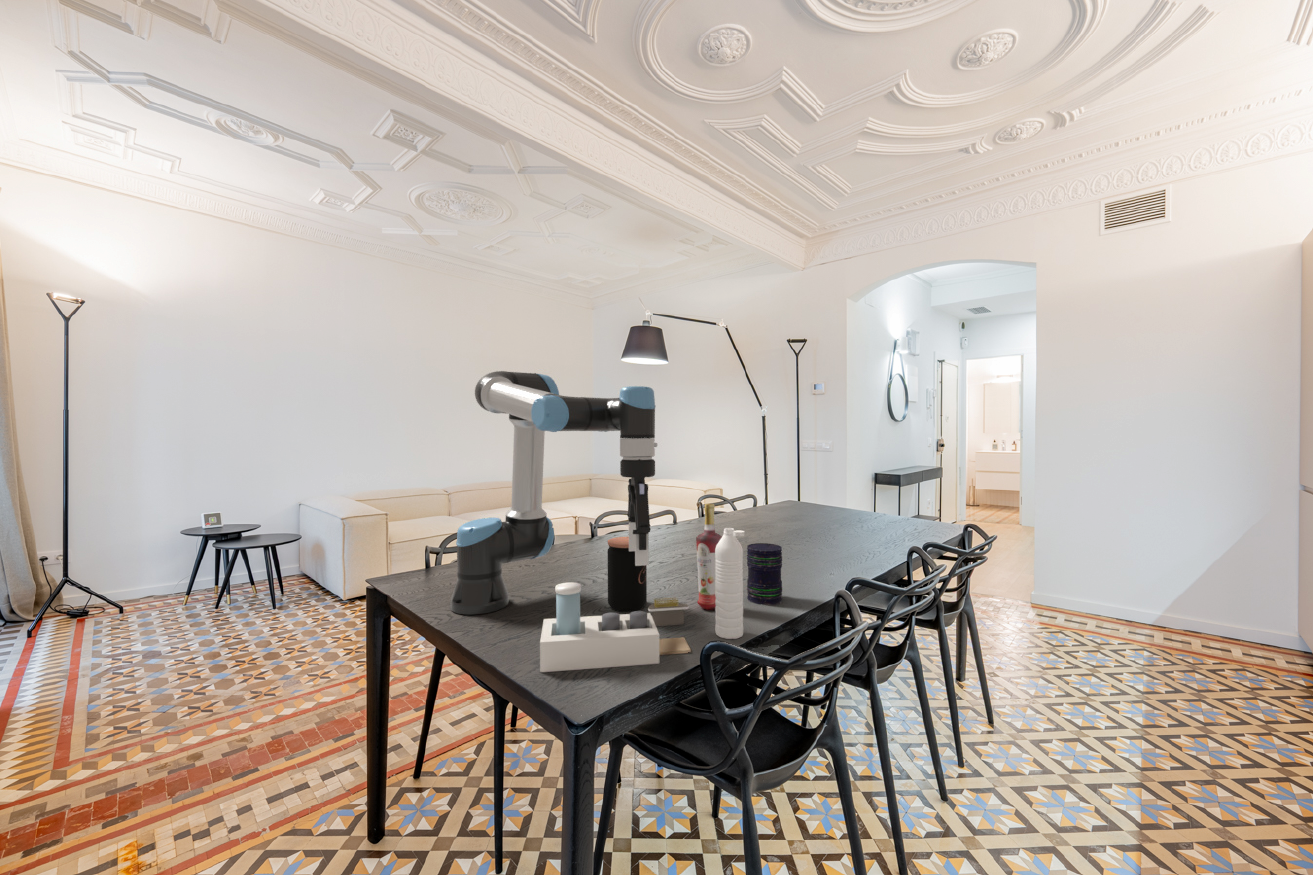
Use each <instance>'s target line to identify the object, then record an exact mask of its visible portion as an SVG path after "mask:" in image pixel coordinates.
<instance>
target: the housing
mask: <svg viewBox="0 0 1313 875" xmlns="http://www.w3.org/2000/svg"><path fill="white" fill-rule="evenodd" d="M646 613H647V628H642V629H630V613H626V614H622V613H621V614H619V615H620V630H611V631H602V615H591V616H588V615H587V616H580V634H571V635H557V628H556V617H555V618H543V622H542V629H541V632H540V633H541V635H540V640H539V672H540V673H548V672H549V673H550V672H561V671H562V672H563V671H577V670H588V669H589V670H591V669H592V670H593V669H605V668H615V667H617V668H618V667H630V666H643V665H644V666H645V665H656V664H658V665H659V664H660V655H659V639H660V633H659V630H658V628H657V626H656V625H655V623H654V621H653V618H652V612H646Z"/></svg>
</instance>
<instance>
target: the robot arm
mask: <svg viewBox="0 0 1313 875" xmlns="http://www.w3.org/2000/svg"><path fill="white" fill-rule="evenodd" d="M474 396H475V397H474V398H475V400H476V403H477V404H478V405H479V406H480V407H481V409H483V410H485V411H487V412H490V413H492V414H508V420H509V422H510V423H511V424H512V425H513V446H512V447H513V452H512V453H513V455H512V475H511V476H512V478H511V479H512V480H511V482H512V483H511V507H510V509H509V510H507V512H505V519H504V521H502V519H501V518H499V517H486V518H485V517H484V518H478V519H473V520H470V521H467V522H465V523H463V524H461V525H460V526H459V527H458V529H457V531H456V532H457V535H456V536H457V538H456V571H457V572H456V574H457V575H456V578H457V580H456V583H455V586H454V589H453V592H452V595H451V598H450V610H451V612H453V613H455V614H460V615H467V616H468V615H470V616H471V615H482V614H488V613H489V614H490V613H493V612H496V611H499V610H501V609H504V608H506V607H507V606H508V605H509V603H510V602H509V599H510V598H509V592H508V589H507V586H506V584H505V581H504V578H503V571H502V570H503V567H502V566H503V564H504V565H505V564H509V563H515V562H516V563H517V562H520V561H527V560H534V559H536V558H540V557H543V556H546V555H547V554H548V553H549V552H550V550H551V548H552V546H553V544H554V540H555V539H554V538H555V529H554V526H553V525H554V524H553V522H552V520H551V519H550V518H549V517H548V516H547V512H546V511H545V509H543V483H544V481H543V480H544V478H543V477H544V457H545V454H544V453H545V435H546V434H545V432H552V433H557V432H602V433H603V432H605V433H606V432H618V431H620V434H619V436H620V438H619V456H620V457H621V458H622V459H621V460H620V461H619V462H620V467H619V468H620V469H619V470H620V476H621V477H623V478H628V485H627V493H628V502H627V503H628V504H627V518H628V519H627V520H628V537H629V551H635V565H636V566H642V565H647V566H649V564H650V556H649V554H650V550H649V549H650V548H649V546H650V544H649V543H650V542H649V540H650V539H649V535H650V532H651V531H652V530H651V525H650V509H649V508H650V504H649V484H648V483H646V480H645V478H651V477H652V478H653V477H654V476H655V475H656V460H655V459H653V457H655V455H656V454H655V453H656V448H658V443H657V442H655V438H656V437H655V436H656V435H655V434H656V430H655V429H656V398H655V391H654V389H653V388H652V387H650V386H645V385H644V386H641V385H640V386H639V385H638V386H637V385H635V386H623V387H622V388H620V390H619V397H611V398H609V397H608V398H607V397H604V398H603V397H590V396H589V397H586V396H584V397H583V396H581V397H579V396H568V395H561V394H560V392H559V387H558V385H557V383H556V382H555V380H554V379H553V378H552V376H551V377H550V376H549V375H547V374H541V373H536V372H534V373H533V372H532V373H531V372H530V373H529V372H520V371H519V372H518V371H507V370H499V371H498V370H496V371H492V372H489V373H487V374H485V375H483V376H482V377H481V378H480V379H479V380H478V381H477V383H476V385H475V388H474Z"/></svg>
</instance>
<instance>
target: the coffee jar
mask: <svg viewBox="0 0 1313 875" xmlns="http://www.w3.org/2000/svg"><path fill="white" fill-rule="evenodd" d="M607 546H608V548H607V604H608V606H609V608H610V609H611V610H614V611H617V612H623V613H624V612H625V613H627V612H630V613H631V612H634V611H641V610H642V609H644V607H645V606H646V604H647V600H648V599H647V598H648V597H647V596H648V594H647V593H648V591H647V587H648V586H647V584H648V583H647V577H648V576H647V575H648V574H647V573H648V572H647V568H648V567H647V566H648V565H642V566H636V565H635V551H629V536H617V537H612V538H610V539H608V540H607Z"/></svg>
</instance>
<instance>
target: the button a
mask: <svg viewBox="0 0 1313 875" xmlns="http://www.w3.org/2000/svg"><path fill="white" fill-rule="evenodd" d="M620 615H621V614H619V613H617V612H606V613H603V614H602V615H601V616H602V631H611V630H620Z"/></svg>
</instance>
